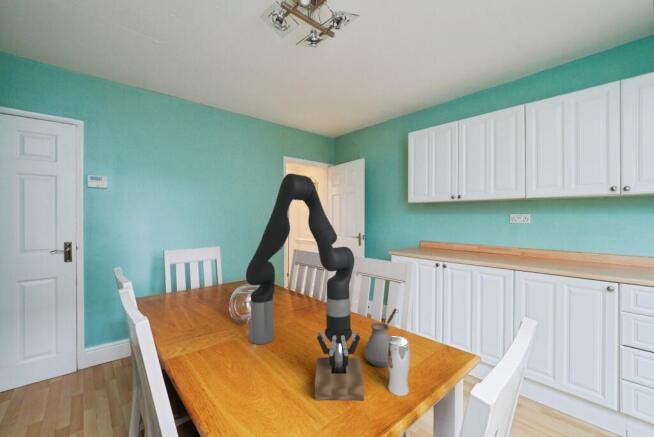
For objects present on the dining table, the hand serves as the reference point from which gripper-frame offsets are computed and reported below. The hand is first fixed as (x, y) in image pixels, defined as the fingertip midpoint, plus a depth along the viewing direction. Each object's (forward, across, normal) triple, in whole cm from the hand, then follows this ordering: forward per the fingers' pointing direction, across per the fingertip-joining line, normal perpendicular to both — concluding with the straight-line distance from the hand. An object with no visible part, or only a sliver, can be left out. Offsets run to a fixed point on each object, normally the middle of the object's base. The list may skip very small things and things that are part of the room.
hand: (338, 366), depth 86 cm
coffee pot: (+6, +18, +18) cm, 26 cm away
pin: (+3, 0, 0) cm, 3 cm away
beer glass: (+6, +18, -2) cm, 19 cm away
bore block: (+6, 0, 0) cm, 6 cm away
